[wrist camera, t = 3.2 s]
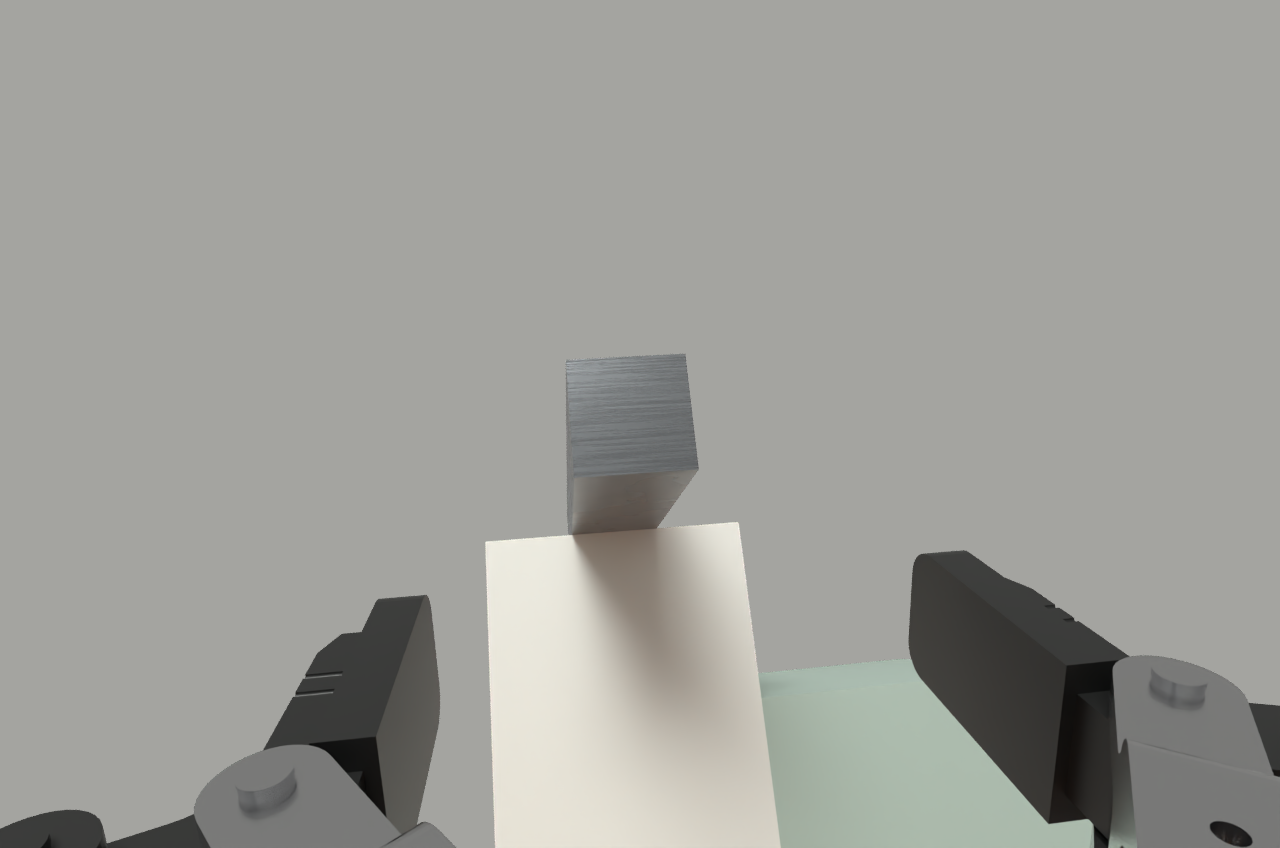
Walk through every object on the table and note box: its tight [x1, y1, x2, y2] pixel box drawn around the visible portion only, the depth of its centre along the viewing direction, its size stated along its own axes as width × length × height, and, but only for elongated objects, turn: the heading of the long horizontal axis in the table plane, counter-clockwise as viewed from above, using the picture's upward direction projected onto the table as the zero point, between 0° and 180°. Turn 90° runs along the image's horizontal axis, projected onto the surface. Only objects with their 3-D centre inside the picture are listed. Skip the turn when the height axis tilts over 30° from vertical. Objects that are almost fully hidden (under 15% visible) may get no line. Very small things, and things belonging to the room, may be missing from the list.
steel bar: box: [566, 354, 699, 535], centre depth 29 cm, size 22×3×3 cm, turn 5°
